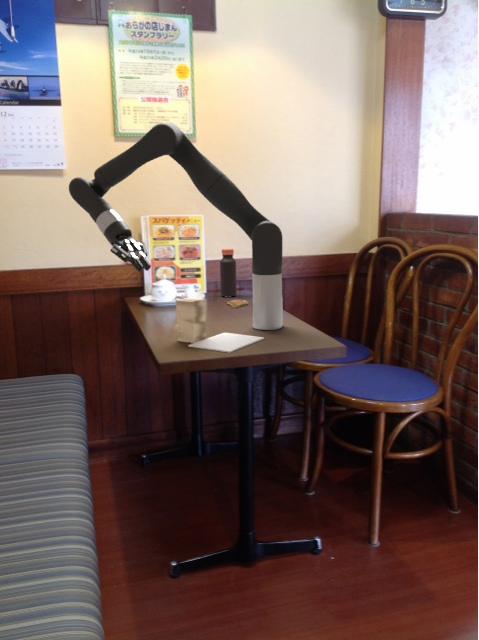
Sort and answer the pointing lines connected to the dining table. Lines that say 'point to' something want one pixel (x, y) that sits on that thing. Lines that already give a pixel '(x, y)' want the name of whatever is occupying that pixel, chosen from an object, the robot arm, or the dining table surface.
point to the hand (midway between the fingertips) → (145, 269)
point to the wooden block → (191, 319)
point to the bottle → (228, 273)
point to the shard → (237, 303)
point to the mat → (226, 342)
